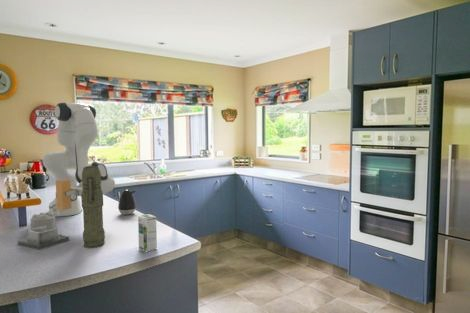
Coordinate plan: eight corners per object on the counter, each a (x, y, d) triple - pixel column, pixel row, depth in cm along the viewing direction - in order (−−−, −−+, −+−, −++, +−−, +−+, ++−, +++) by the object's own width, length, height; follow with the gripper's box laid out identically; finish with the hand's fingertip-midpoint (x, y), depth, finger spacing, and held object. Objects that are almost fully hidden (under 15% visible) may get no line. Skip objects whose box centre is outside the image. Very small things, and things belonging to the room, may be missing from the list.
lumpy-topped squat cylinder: (29, 234, 160) (28, 217, 159) (35, 227, 172) (34, 211, 172) (53, 232, 164) (52, 215, 163) (57, 225, 176) (56, 209, 175)
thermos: (104, 239, 152) (101, 164, 149) (105, 247, 141) (102, 167, 138) (83, 242, 148) (80, 165, 146) (83, 250, 137) (79, 168, 135)
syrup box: (138, 249, 138) (137, 215, 137) (150, 246, 142) (149, 213, 141) (145, 253, 133) (143, 218, 132) (157, 249, 138) (156, 215, 137)
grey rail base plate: (48, 235, 159) (47, 223, 158) (69, 240, 151) (68, 227, 151) (17, 244, 146) (17, 230, 146) (39, 249, 139) (38, 235, 138)
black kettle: (136, 215, 197) (136, 190, 196) (118, 216, 193) (117, 191, 192) (135, 211, 207) (134, 187, 206) (118, 213, 203) (117, 188, 202)
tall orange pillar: (57, 209, 156) (55, 180, 155) (65, 207, 160) (64, 179, 159) (63, 210, 154) (61, 181, 153) (71, 208, 158) (70, 179, 157)
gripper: (73, 181, 173) (48, 185, 160) (100, 184, 163) (75, 188, 151) (74, 193, 173) (48, 198, 161) (100, 196, 164) (75, 201, 151)
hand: (61, 193), depth 156 cm, fingers closed on tall orange pillar, 4 cm apart
